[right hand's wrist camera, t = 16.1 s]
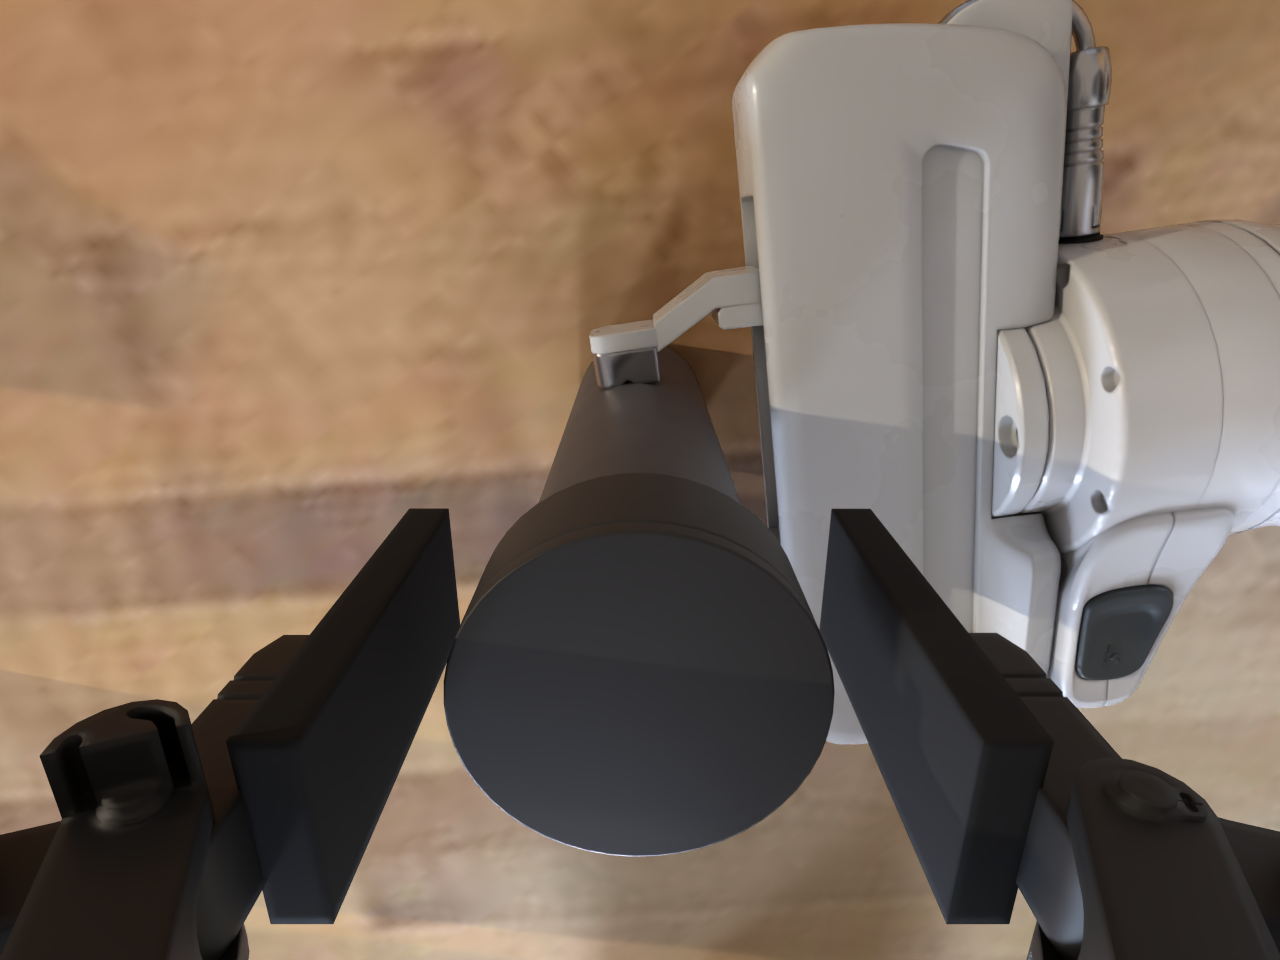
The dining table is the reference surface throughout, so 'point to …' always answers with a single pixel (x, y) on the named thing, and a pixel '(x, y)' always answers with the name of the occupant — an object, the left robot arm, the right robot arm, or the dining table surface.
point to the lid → (639, 669)
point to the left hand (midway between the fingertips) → (610, 459)
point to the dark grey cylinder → (641, 431)
